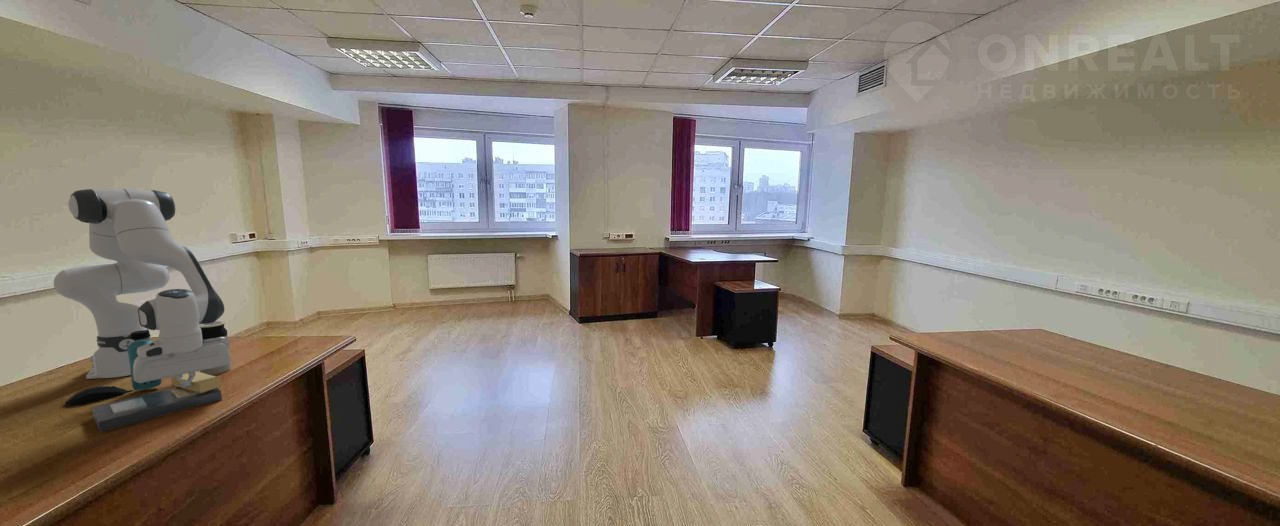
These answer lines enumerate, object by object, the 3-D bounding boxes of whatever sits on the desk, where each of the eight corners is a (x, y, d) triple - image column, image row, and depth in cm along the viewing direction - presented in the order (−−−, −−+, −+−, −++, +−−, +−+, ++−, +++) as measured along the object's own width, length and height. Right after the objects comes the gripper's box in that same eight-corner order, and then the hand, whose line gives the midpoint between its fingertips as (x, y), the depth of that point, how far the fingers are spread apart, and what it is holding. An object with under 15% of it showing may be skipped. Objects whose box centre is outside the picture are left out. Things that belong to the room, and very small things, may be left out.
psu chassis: (92, 413, 124) (90, 402, 123) (207, 385, 144) (206, 375, 143) (99, 432, 114) (98, 420, 114) (221, 399, 134) (220, 389, 134)
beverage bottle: (142, 395, 135) (133, 335, 133) (126, 393, 137) (118, 333, 134) (168, 387, 142) (161, 329, 139) (153, 385, 143) (145, 327, 140)
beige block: (167, 383, 136) (166, 374, 135) (188, 377, 140) (187, 368, 140) (200, 393, 130) (199, 383, 130) (221, 386, 135) (220, 377, 134)
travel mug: (226, 365, 161) (221, 319, 158) (234, 370, 157) (229, 323, 154) (197, 372, 154) (191, 324, 151) (204, 377, 150) (199, 328, 147)
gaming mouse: (141, 392, 138) (140, 381, 138) (65, 409, 126) (63, 396, 126) (139, 387, 142) (137, 376, 141) (65, 403, 130) (63, 391, 129)
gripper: (226, 333, 138) (230, 374, 140) (128, 349, 122) (134, 395, 124) (231, 337, 135) (235, 378, 137) (131, 354, 118) (137, 401, 120)
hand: (187, 386), depth 130 cm, fingers closed
